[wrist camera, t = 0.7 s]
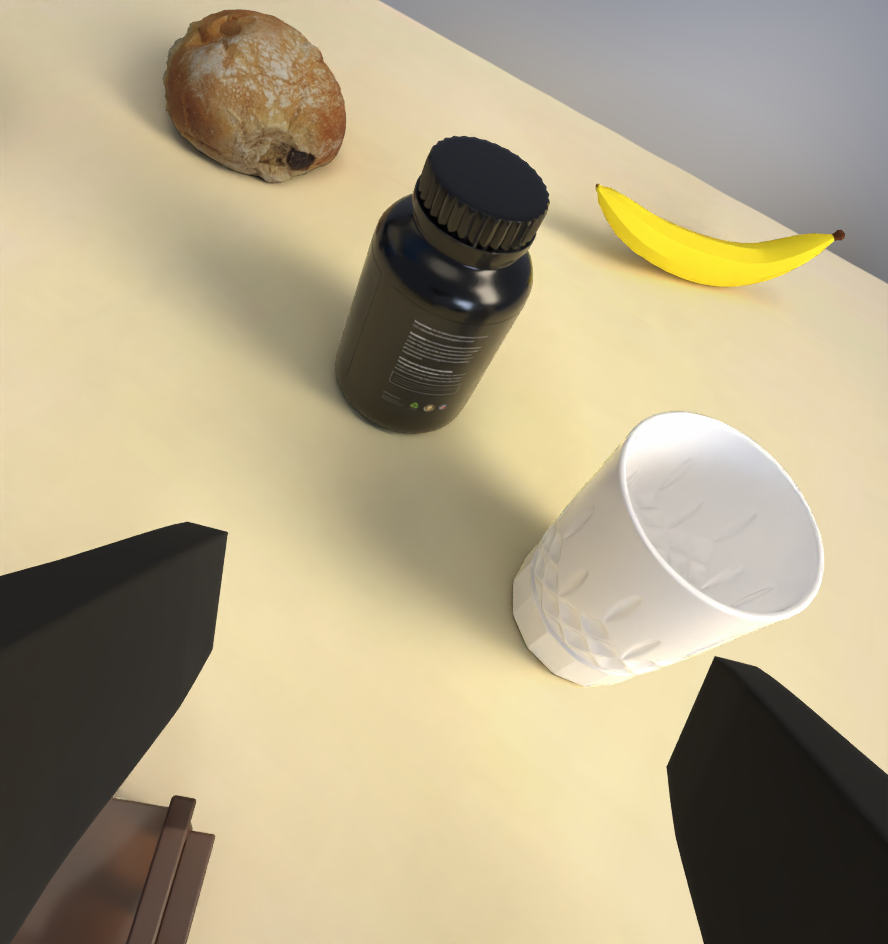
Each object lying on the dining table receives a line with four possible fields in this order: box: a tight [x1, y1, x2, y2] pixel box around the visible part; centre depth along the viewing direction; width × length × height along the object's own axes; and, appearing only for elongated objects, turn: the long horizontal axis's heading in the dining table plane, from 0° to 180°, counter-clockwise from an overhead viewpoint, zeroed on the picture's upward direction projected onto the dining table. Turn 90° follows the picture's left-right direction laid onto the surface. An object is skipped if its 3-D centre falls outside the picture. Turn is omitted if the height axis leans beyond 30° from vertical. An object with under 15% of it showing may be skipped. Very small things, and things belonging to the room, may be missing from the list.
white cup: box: [513, 411, 824, 687], centre depth 26 cm, size 8×8×10 cm
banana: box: [596, 184, 845, 287], centre depth 46 cm, size 3×19×6 cm, turn 96°
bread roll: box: [163, 9, 346, 183], centre depth 39 cm, size 10×10×8 cm
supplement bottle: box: [335, 136, 550, 433], centre depth 29 cm, size 7×7×12 cm
